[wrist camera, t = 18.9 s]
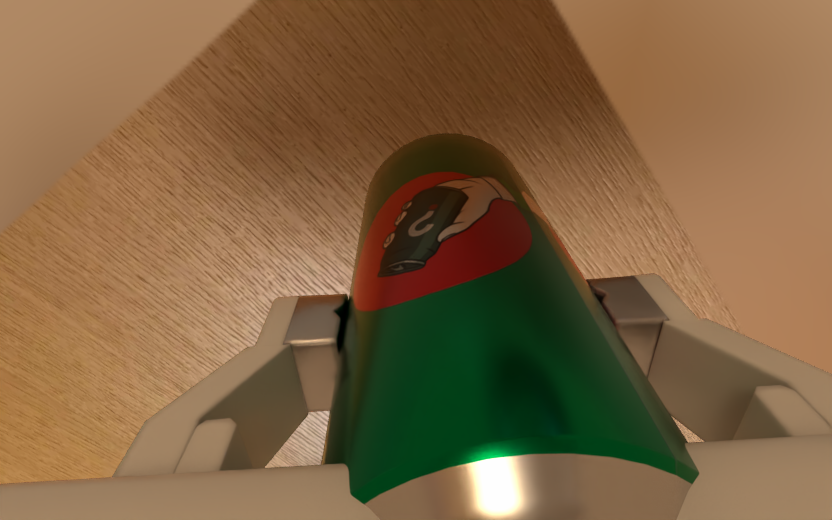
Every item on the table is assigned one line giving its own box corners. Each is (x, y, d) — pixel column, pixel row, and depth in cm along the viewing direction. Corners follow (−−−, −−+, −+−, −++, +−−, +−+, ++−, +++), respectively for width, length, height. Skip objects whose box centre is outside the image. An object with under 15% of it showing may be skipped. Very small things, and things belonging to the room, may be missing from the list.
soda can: (338, 228, 15) (207, 733, 5) (420, 94, 13) (490, 488, 3) (461, 293, 17) (559, 785, 6) (553, 181, 15) (919, 650, 4)
